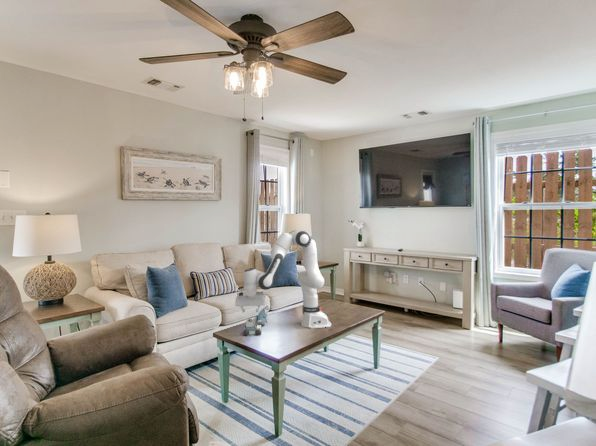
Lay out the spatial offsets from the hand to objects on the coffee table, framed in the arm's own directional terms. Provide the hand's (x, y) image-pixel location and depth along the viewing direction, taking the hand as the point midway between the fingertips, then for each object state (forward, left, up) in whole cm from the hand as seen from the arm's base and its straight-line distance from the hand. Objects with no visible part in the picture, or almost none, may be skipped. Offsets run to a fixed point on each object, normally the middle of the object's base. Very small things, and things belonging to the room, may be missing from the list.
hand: (250, 311), depth 230 cm
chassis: (-2, 0, -15) cm, 15 cm away
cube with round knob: (0, 0, -12) cm, 12 cm away
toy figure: (-7, -15, -15) cm, 23 cm away
